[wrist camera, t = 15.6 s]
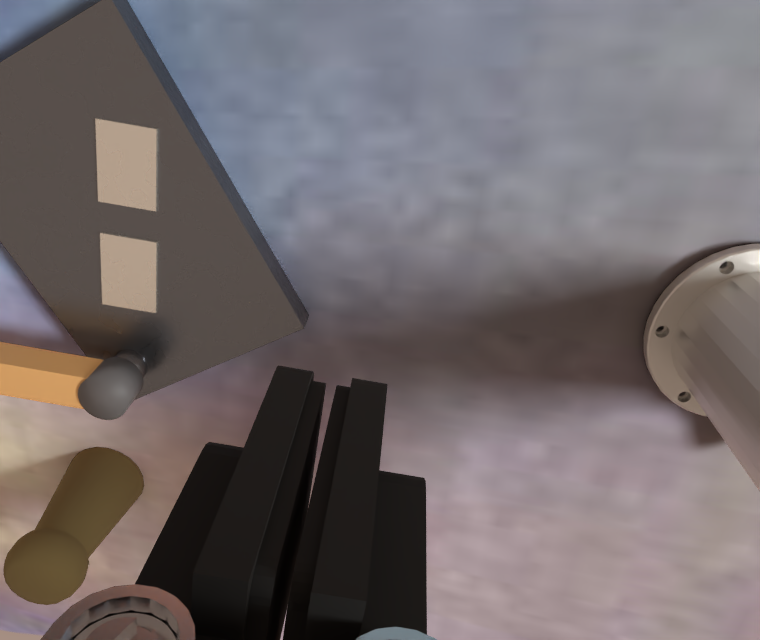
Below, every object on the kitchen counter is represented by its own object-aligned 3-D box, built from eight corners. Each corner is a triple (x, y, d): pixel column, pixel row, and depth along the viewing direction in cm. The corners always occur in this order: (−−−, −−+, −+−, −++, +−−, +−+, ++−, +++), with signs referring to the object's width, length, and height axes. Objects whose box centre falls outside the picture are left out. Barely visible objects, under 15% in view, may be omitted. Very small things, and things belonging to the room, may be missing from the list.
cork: (54, 460, 52) (-33, 566, 42) (116, 437, 50) (42, 542, 41) (97, 514, 54) (24, 627, 44) (158, 494, 53) (96, 606, 43)
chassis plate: (308, 315, 45) (300, 338, 42) (134, 389, 48) (113, 416, 45) (124, -4, 37) (96, -6, 34) (-69, 113, 40) (-111, 122, 37)
